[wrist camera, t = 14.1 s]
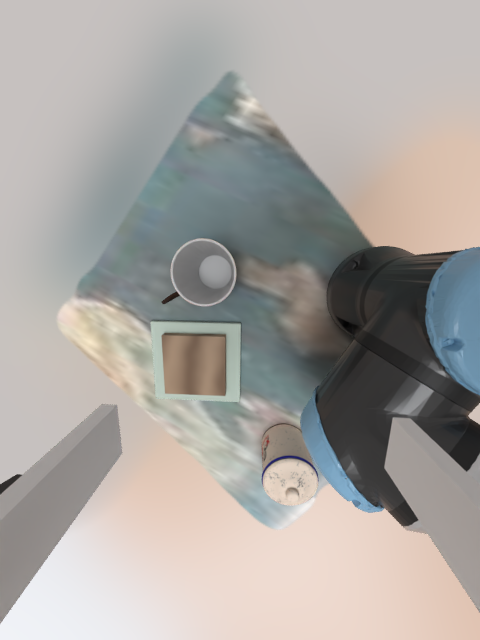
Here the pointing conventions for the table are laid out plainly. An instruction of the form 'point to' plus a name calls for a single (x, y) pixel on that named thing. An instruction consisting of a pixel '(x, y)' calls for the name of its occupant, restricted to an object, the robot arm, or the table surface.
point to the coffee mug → (202, 272)
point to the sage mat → (199, 328)
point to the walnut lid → (194, 363)
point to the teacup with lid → (287, 466)
